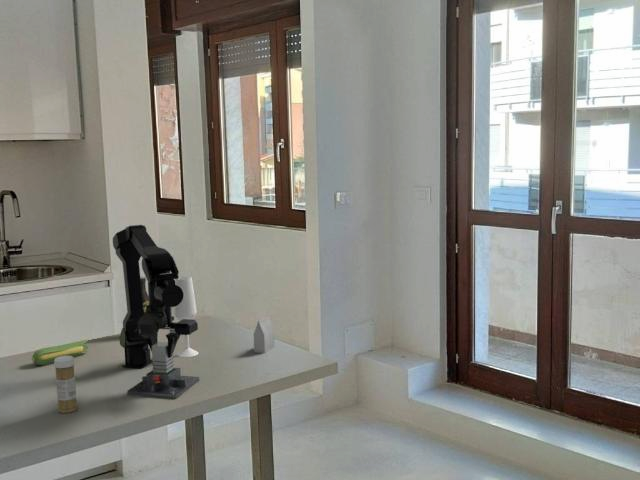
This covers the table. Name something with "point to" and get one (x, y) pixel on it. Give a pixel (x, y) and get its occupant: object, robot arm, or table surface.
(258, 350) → the white gable top carton
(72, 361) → the sprinkles bottle
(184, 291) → the champagne flute
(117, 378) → the table surface
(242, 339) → the table surface
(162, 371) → the block
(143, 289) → the sauce bottle
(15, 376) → the table surface
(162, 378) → the jack base
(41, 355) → the edible corn
